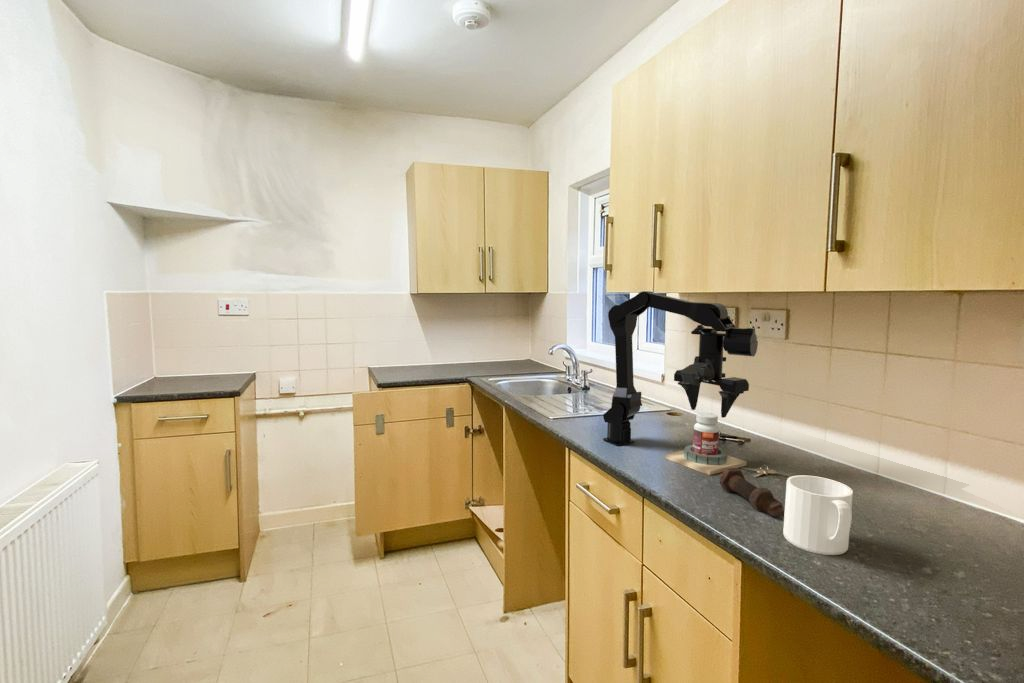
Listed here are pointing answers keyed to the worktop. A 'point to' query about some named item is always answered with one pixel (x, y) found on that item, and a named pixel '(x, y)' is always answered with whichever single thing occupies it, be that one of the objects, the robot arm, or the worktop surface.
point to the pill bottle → (706, 434)
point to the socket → (705, 460)
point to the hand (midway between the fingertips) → (708, 413)
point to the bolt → (750, 492)
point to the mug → (817, 514)
